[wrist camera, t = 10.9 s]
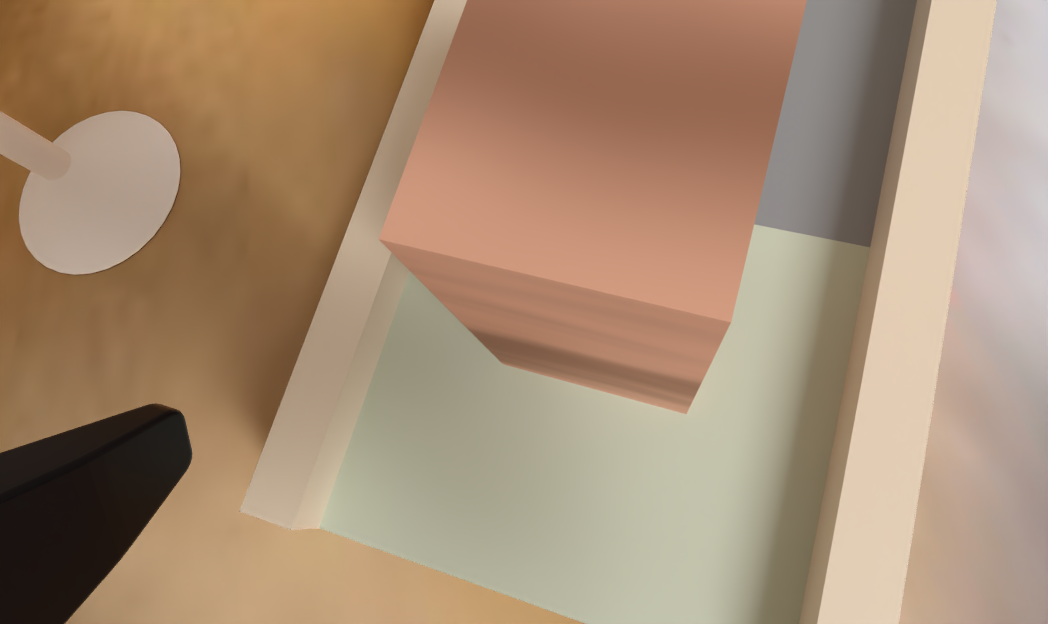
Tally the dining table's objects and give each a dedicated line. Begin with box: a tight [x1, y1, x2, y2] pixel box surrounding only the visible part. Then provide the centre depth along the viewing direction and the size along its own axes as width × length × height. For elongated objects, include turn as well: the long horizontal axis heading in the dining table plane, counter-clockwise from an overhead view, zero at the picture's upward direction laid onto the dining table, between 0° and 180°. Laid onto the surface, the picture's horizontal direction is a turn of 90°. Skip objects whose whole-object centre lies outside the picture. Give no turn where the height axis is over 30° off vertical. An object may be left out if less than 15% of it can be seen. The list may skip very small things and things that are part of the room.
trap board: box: [240, 0, 997, 624], centre depth 19 cm, size 24×15×4 cm, turn 163°
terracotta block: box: [379, 0, 807, 414], centre depth 14 cm, size 5×5×9 cm
